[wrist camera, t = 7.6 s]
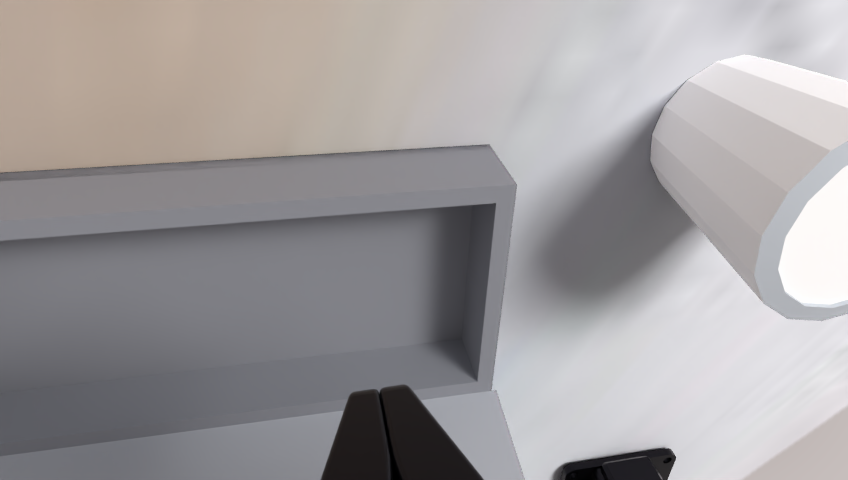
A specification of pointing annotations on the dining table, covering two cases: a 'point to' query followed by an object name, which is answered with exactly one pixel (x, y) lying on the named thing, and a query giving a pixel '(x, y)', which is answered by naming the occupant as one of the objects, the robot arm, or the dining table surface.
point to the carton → (244, 289)
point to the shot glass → (765, 177)
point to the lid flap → (265, 449)
